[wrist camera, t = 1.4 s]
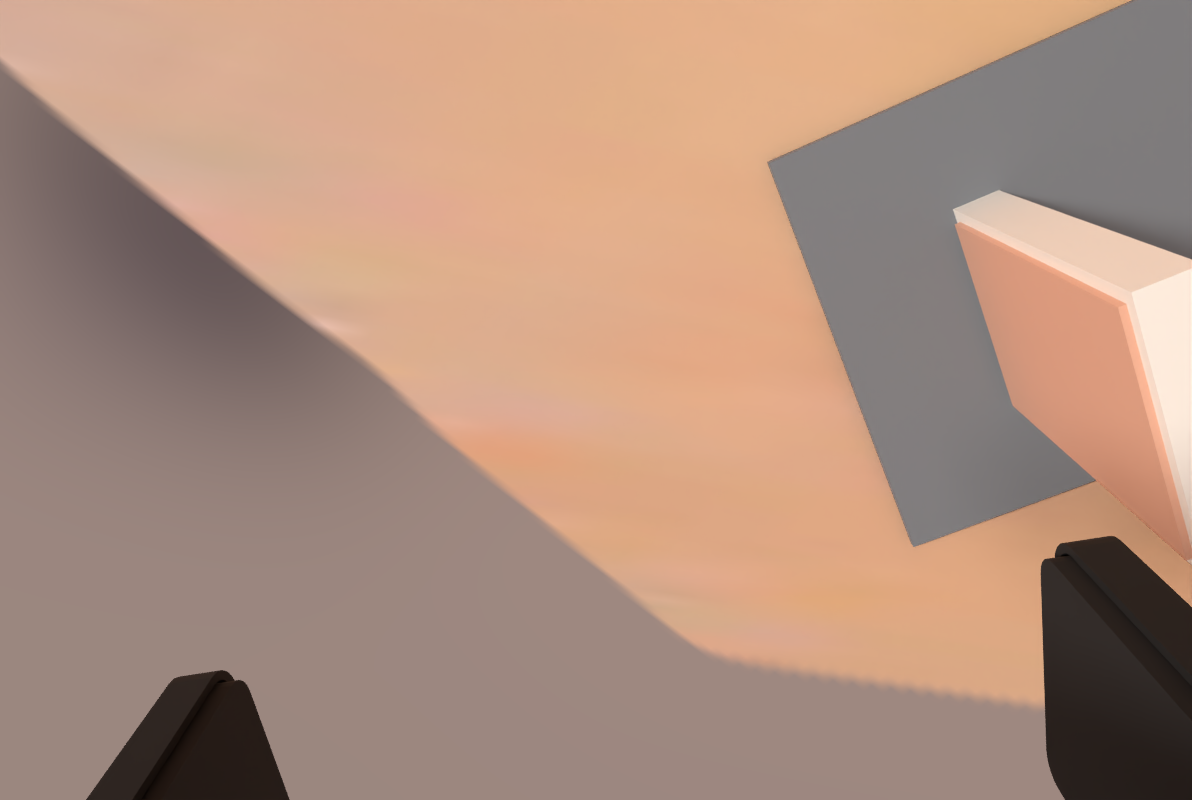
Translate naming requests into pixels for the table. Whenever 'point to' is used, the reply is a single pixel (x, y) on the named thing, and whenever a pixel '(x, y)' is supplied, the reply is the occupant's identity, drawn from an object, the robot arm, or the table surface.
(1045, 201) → the mat
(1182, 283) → the tile
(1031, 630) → the table surface
